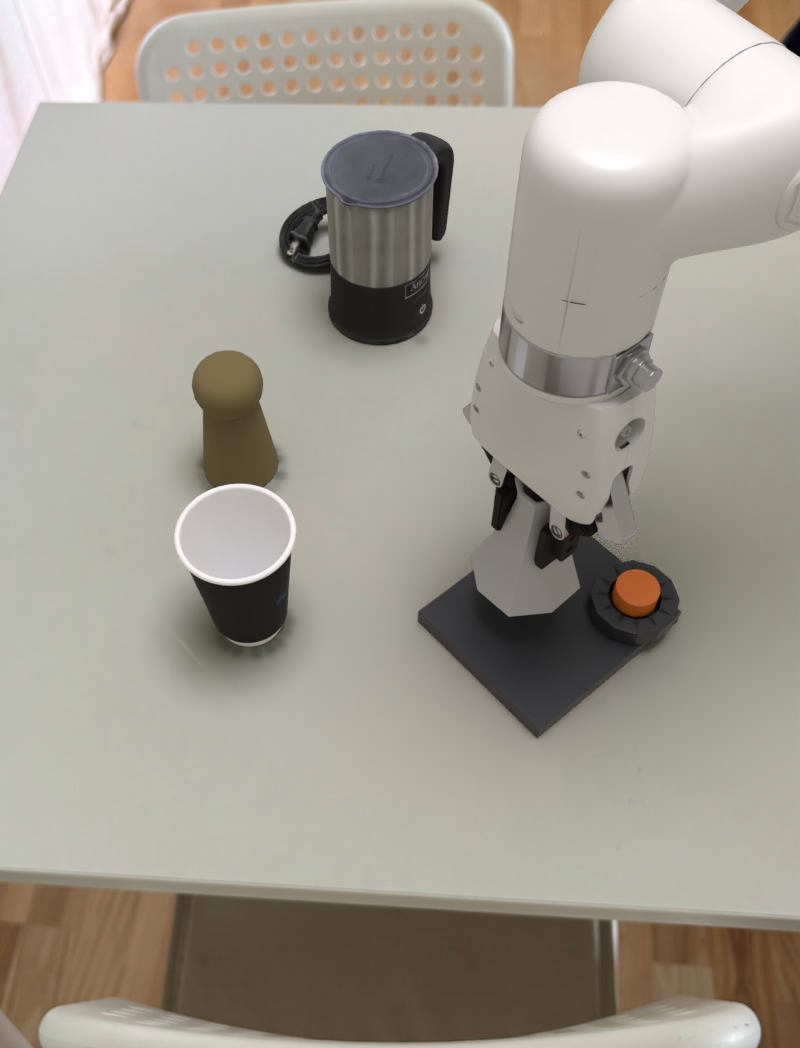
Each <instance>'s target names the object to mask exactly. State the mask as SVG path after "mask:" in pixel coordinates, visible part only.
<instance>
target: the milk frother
mask: <svg viewBox="0 0 800 1048" xmlns="http://www.w3.org/2000/svg"><path fill="white" fill-rule="evenodd" d="M454 152H455V151H454V149H453V147H452V145H451V144H450V143H449V142H448V141H446V140H444V139H442V138H441V137H439V136H437V135H434V134H431V133H427V132H424V131H416V132H413V133H410V134H409V133H405V132H401V131H394V130H387V129H385V130H382V129H377V130H370V131H364V132H358V133H355V134H352V135H349V136H347V137H346V138H344V139H343V138H342V140H340V141H338V142H337V143H335V144H334V145H333V146H331V148H330V149H329V150H328V152H327V153H326V154H325V156H324V157H323V160H322V162H321V165H320V176H321V180H322V183H323V184H324V186H325V196H323V197H319V198H316V199H314V200H310V201H308V202H306V203H304V204H302V205H300V206H299V207H297V208H296V209H295V210H293V211H292V212H291V213H290V214H289V215H288V216H287V217H286V219H285V220H284V221H283V223H282V225H281V228H280V232H279V235H278V244H279V248H280V250H281V251H280V252H281V253H282V255H283V256H284V257H285V259H286V260H287V261H289V262H290V264H293V265H294V266H296V267H297V268H298V267H299V268H301V269H305V270H307V271H308V270H309V271H316V272H318V271H319V272H320V271H323V270H329V272H330V277H329V278H330V294H329V297H328V302H327V311H328V314H329V318H330V320H331V322H332V323H333V324H334V326H335V327H336V328H337V329H338V330H339V331H340V332H341V333H343V334H344V335H346V336H347V337H348V338H350V339H354V340H356V341H358V342H363V343H368V344H377V345H378V344H383V345H384V344H391V343H396V342H401V341H404V340H407V339H408V338H411V337H413V336H414V335H415V334H417V333H418V332H419V331H421V330H422V329H423V328H424V327H425V325H426V324H427V323H428V322H429V320H430V318H431V317H432V316H431V315H432V313H433V308H434V301H433V295H432V293H431V291H432V290H431V263H432V261H431V260H432V244H433V243H432V241H434V242H440V241H442V240H443V238H444V236H445V235H446V232H447V227H448V218H449V209H450V200H451V192H452V182H453V175H454V165H455V153H454ZM324 216H327V217H326V218H327V234H328V249H329V253H327V254H322V255H315V256H314V255H306V254H303V253H301V252H299V250H302V251H303V252H306V253H310V252H311V245H312V244H313V241H314V238H315V235H316V233H317V232H318V231H319V230H320V228H319V224H320V223H321V222H322V221H323V219H324Z"/></svg>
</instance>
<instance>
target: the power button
mask: <svg viewBox="0 0 800 1048" xmlns="http://www.w3.org/2000/svg"><path fill="white" fill-rule="evenodd" d="M659 596H660V585H659V583H658V581H657V580H656V578H655V577H654V576H653V575H651V574H650V573H648V572H646V571H643V570H638V569H633V570H628V571H626V572H624V573H622V574H621V575H620V576H619V577H618V579H617V581H616V584H615V587H614V590H613V593H612V600H613V603H614V605H615V606H616V608H617V609H618V610H619V611H620V612H622V613H623V614H625V615H628V616H631V617H642V616H645V615H647V614H649V613H651V612H652V611H653V609H654V608H655V606H656V603H657V601H658V598H659Z"/></svg>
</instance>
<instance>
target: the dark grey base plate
mask: <svg viewBox="0 0 800 1048" xmlns="http://www.w3.org/2000/svg"><path fill="white" fill-rule="evenodd" d="M572 557H573V561H574V565H575V569H576V573H577V576H578V580H579V584H580V588H579V589H578V590H577V591H576V592H575V593H574V594H572V595H571V596H570V597H569V598H568V599H567V600H566V601H564V602H563V603H562V604H561V605H560V606H559V607H558V608H556V609H555V610H554V611H553V612H552V613H543V614H532V615H522V616H512V617H509V616H507V615H506V614H505V613H504V612H503V611H501V610H500V609H499V608H498V607H497V606H496V605H494V604H493V603H492V602H491V601H490V600H489V599H487V598H486V597H485V596H484V595H483V594H481V593H480V592H479V591H478V590H477V585H476V580H475V575H474V569H473V570H472V571H470V572H469V573H468V574H466V575H465V576H463V577H462V578H461V579H459V580H458V581H457V582H455V583H454V584H453V585H451V586H450V587H449V588H448V589H446V590H445V591H443V592H442V593H441V594H439V595H438V596H437V597H435V598H434V599H433V600H432V601H430V602H429V603H427V604H426V605H424V606H423V607H422V608H421V609H420V610H418V611H417V622H418V623H419V624H420V625H421V626H422V627H423V628H424V629H425V630H426V631H427V632H428V633H429V634H430V635H431V636H432V637H433V638H434V639H435V640H437V642H438V643H440V644H441V645H442V647H444V648H445V649H446V651H448V652H449V654H451V655H452V656H453V657H454V658H455V659H456V660H457V661H458V662H459V663H460V664H461V665H462V666H463V667H464V668H465V669H466V670H467V671H468V672H469V673H470V674H471V676H473V677H474V678H475V679H477V681H478V682H479V683H480V684H482V686H483V687H484V688H485V689H487V691H488V692H489V693H491V695H492V696H493V697H494V698H495V699H496V700H497V701H499V703H501V704H502V705H503V706H504V708H506V710H507V711H508V712H510V713H511V714H512V715H513V716H514V717H515V718H516V719H517V720H518V722H520V723H521V724H522V725H523V726H524V727H525V728H526V729H527V730H528V731H529V732H530V733H531V734H532V735H533V736H534V737H535V738H536V739H538V738H540V736H542V735H543V734H545V732H547V731H548V730H549V729H550V728H551V727H553V726H554V725H555V724H556V723H558V721H560V720H561V719H562V718H563V717H564V716H566V715H567V714H569V712H571V711H572V710H573V709H575V707H577V706H578V705H579V704H580V703H581V702H582V701H584V700H585V699H586V698H587V697H588V696H590V695H591V694H592V693H593V692H594V691H596V690H597V689H598V688H599V687H601V686H602V685H603V684H604V683H605V682H607V681H608V680H609V679H610V678H611V677H612V676H614V675H615V674H616V673H617V672H619V671H620V670H621V669H622V668H623V667H625V666H626V665H627V664H628V663H629V662H631V660H633V659H634V658H635V657H637V656H638V655H639V654H640V653H642V651H644V650H645V649H647V647H649V646H650V645H651V644H652V643H655V642H657V641H658V640H659V639H661V638H662V637H663V636H664V635H666V634H667V633H668V632H669V631H670V630H671V629H672V627H673V626H674V625H675V624H676V623H678V620H679V618H680V616H681V614H682V611H681V610H680V609H679V605H680V596H679V593H678V592H677V589H676V587H675V584H674V582H673V580H672V579H671V578H670V577H668V576H667V575H666V574H665V573H664V572H663V571H661V570H660V569H659V568H657V566H656V565H652V564H648V563H645V562H642V561H638V560H635V559H632V560H625V561H622V560H621V559H620V558H618V557H617V556H616V555H615V554H614V553H612V552H611V551H610V550H609V549H608V548H607V547H606V546H604V545H603V544H602V543H601V542H599V541H598V540H597V539H596V538H594V537H593V536H591V537H585V536H580V538H579V542H578V546H577V548H576V550H575V551H574V552H573V553H572ZM633 569H638V570H643V571H646V572H648V573H650V574H651V575H653V576H654V577H655V578H656V580H657V581H658V583H659V585H660V596H659V598H658V601H657V603H656V606H655V608H654V609H653V611H652V612H651V613H649V614H647V615H645V616H642V617H631V616H628V615H625V614H623V613H622V612H620V611H619V610H618V609H617V608H616V606H615V605H614V603H613V600H612V593H613V590H614V587H615V584H616V581H617V579H618V577H619V576H620V575H621V574H622V573H624V572H626V571H628V570H633Z"/></svg>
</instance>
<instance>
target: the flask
mask: <svg viewBox="0 0 800 1048" xmlns="http://www.w3.org/2000/svg"><path fill="white" fill-rule="evenodd" d="M515 483H516V487H517V492H518V493H517V498H516V500H515V502H514V504H513V506H512V508H511V510H510V512H509V514H508V516H507V518H506V520H505V522H504V524H503V526H502V528H501V531H500V530H498V531H497V530H496V529H494V530H493V531H492V532H491V533H490V534H489V535H488V536H487V537H486V538H485V539H484V541H482V542H481V543H480V544H479V546H477V548H476V549H475V550H473V552H472V553H471V554H470V559H471V563H472V569H473V570H474V575H475V580H476V585H477V590H478V591H479V592H480V593H481V594H483V595H484V596H485V597H486V598H487V599H489V600H490V601H491V602H492V603H493V604H494V605H496V606H497V607H498V608H499V609H500V610H501V611H503V612H504V613H505V614H506V615H507V616H509V617H512V616H522V615H532V614H543V613H552V612H553V611H554V610H555V609H556V608H558V607H559V606H560V605H561V604H562V603H563V602H564V601H566V600H567V599H568V598H569V597H570V596H571V595H572V594H574V593H575V592H576V591H577V590H578V589H579V588H580V584H579V580H578V576H577V573H576V569H575V565H574V561H573V557H572V554H571V555H570V556H569V557H568V558H567V559H565V560H564V561H562V562H560V561H559V560H557V559H556V560H554V561H553V562H552V563H550V564H549V565H548V566H546V567H545V568H544V569H542V570H541V569H540V568H538V567H537V566H536V565H535V561H534V557H535V552H536V548H537V543H538V538H539V533H540V530H541V529H542V527H543V526H545V525H546V524H547V523H549V522H550V507H551V505H550V504H549V503H547V502H546V501H545V500H544V499H543V498H541V497H540V496H539V495H538V494H537V493H535V492H534V491H533V490H532V489H531V488H529V487H528V486H527V485H526V484H525V483H523V482H522V481H521V480H520V479H519V478H518V477H515Z"/></svg>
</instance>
